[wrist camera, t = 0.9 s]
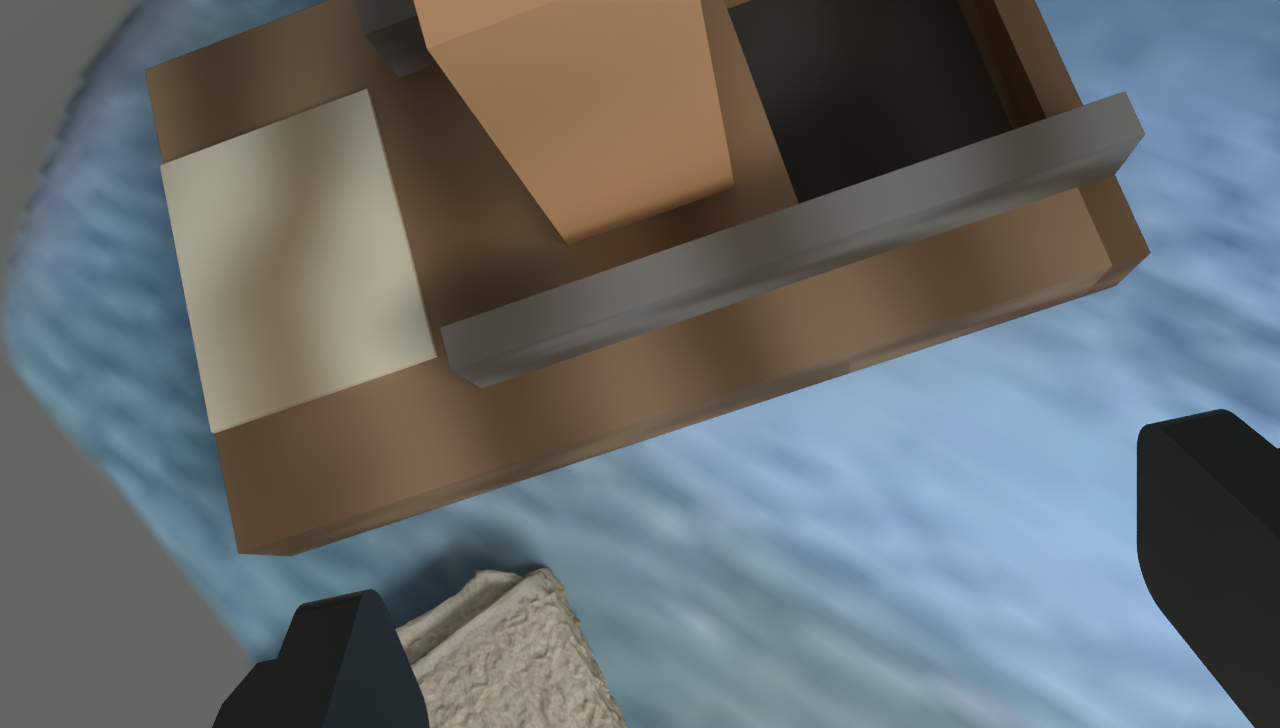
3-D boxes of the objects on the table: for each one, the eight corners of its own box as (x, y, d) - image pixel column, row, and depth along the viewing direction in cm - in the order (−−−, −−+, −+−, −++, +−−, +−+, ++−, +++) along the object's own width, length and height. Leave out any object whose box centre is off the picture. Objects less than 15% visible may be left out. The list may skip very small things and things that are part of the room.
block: (681, 36, 29) (611, -270, 19) (735, 187, 28) (690, -50, 18) (522, 94, 30) (366, -173, 19) (567, 245, 29) (427, 49, 18)
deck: (918, -158, 33) (940, -300, 28) (1116, 285, 29) (1185, 219, 24) (199, 111, 35) (91, 28, 30) (291, 556, 31) (185, 551, 26)
